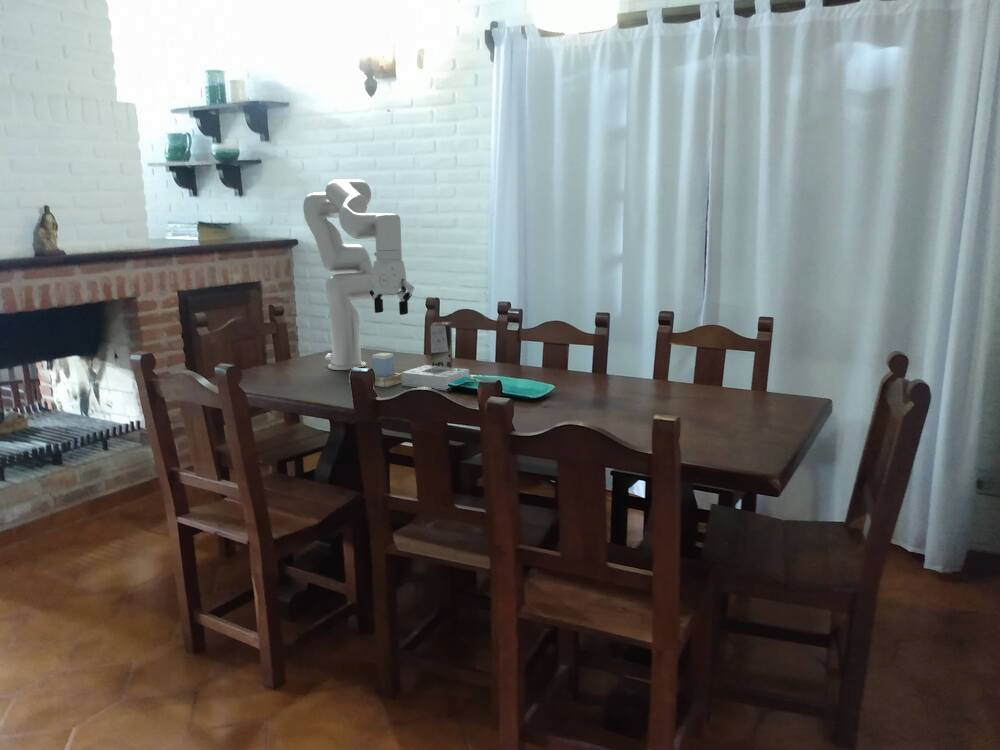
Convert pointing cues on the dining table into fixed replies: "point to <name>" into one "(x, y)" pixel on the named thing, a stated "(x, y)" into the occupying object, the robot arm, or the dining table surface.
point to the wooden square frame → (388, 380)
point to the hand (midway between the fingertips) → (391, 313)
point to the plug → (383, 365)
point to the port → (432, 376)
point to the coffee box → (441, 344)
